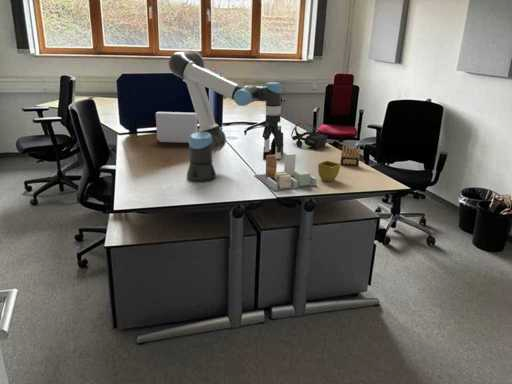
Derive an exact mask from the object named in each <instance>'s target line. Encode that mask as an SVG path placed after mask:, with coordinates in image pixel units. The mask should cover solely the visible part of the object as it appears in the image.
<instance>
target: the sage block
mask: <svg viewBox="0 0 512 384" xmlns="http://www.w3.org/2000/svg"><path fill="white" fill-rule="evenodd" d="M296 155H297V154H296V153H294V152H290V153H289V152H288V153H284V168H283V169H284V170H283V172H284V173H285V172H286V173H287V174H289V175H290V176H291V177H292V178H294V179H295V180H297V181H298V184H297V185H298V186H305V185H310V175H312V174H311V172H308V171H307V170H305V169H301V170H296Z"/></svg>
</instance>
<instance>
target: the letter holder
mask: <svg viewBox="0 0 512 384" xmlns="http://www.w3.org/2000/svg"><path fill="white" fill-rule="evenodd" d="M281 133H282V138H283V139H284V132H282V131H281ZM275 145H276V142H275V139H274V137H273V139H272V140H271V143H270V151H269V152H264V150H263V153H262V160H266V155H275V149H276V146H275ZM283 152H284V145H282V146H281V156H282V155H283ZM280 159H281V158H278V159H277V161H280Z"/></svg>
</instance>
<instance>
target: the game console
mask: <svg viewBox="0 0 512 384" xmlns="http://www.w3.org/2000/svg"><path fill="white" fill-rule="evenodd" d="M155 122H156V124H155V125H156V126H155V127H156V138H157V140H158V141H159V142H160V143H185V144H186V143H187V144H189V137H190V135H192V134H193V133H196V132H197V133H198V130H199V129H198V119H197V116H196V113H195V112H183V111H182V112H181V111H180V112H179V111H174V112H173V111H157V112H155Z"/></svg>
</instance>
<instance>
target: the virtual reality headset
mask: <svg viewBox="0 0 512 384" xmlns="http://www.w3.org/2000/svg"><path fill="white" fill-rule="evenodd" d="M300 124H301V122H298V123H297V124H296V125H295V126H294V128H293V129H292V131H291V134H290V137H291V138H292V141H296V143H295V144H296V147H298V148H301V147H302V146H303V142H302V141H304V144H305V145H306V146H307V147H310V148H313V149H315V150H319V149H322V148H324V147H326V144H327V141H328V136H327V134H321V133H318V131H317V129H316V128H315V127H314V126H313V125H312V124H310V123H308V122H303V125H308V126H310V127H311V129H313V130H314V131H313V130H311V132H310V131H305V132H302V133H299V132H298V129H297V127H298V126H299V125H300ZM294 133H295V135H294V136H293V134H294Z"/></svg>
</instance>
